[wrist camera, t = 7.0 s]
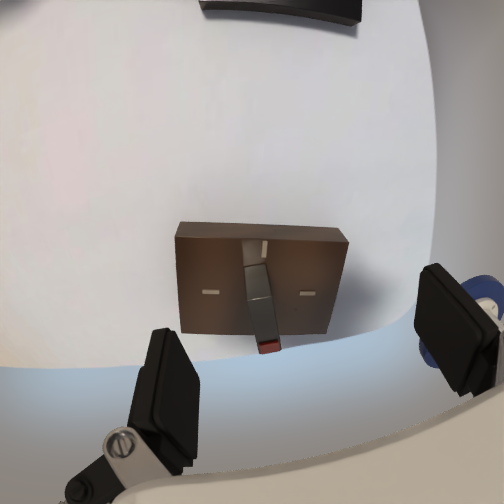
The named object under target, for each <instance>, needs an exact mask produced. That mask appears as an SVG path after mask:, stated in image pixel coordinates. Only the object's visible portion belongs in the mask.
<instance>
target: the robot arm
mask: <svg viewBox="0 0 504 504" xmlns="http://www.w3.org/2000/svg"><path fill="white" fill-rule="evenodd" d="M497 317H498V306H497V304H496V303H495V302H494V301H493V300H492V299H491V298H488V297H484V298H480V299H477V300H474V299H473V298H472V297H471V296H470V295H469V293H468V292H467V291H466V290H465V289H464V288H463V287H462V286H461V285H460V284H459V283H458V282H457V281H456V280H455V279H454V278H453V277H452V276H451V275H450V274H449V273H448V272H447V271H446V270H445V269H444V268H443V267H442V266H441V265H440V264H439V263H434V264H431V265H428V266H425V267H424V268H423V271H422V272H421V273H420V279H419V288H418V297H417V305H416V312H415V319H414V328H415V331H416V333H417V334H418V336H419V337H420V339H421V340H422V342H423V343H424V345H425V347H426V348H427V350H428V351H429V353H430V354H431V356H432V358H433V359H434V361H435V362H436V364H437V366H438V367H439V369H440V370H441V372H442V374H443V375H444V377H445V379H446V380H447V382H448V384H449V385H450V387H451V389H452V390H453V391H454V392H456V391H457V393H458V395H459V396H460V397H461V396H464V395H465V394H467V393H469V392H471V393H472V394H473V398H472V399H470V400H469V401H467V402H464V403H462V404H461V405H458V406H456V407H454V408H452V409H450V410H448V411H446V412H443V413H442V414H439V415H437V416H435V417H433V418H430V419H428V420H425V421H423V422H421V423H418V424H416V425H414V426H411V427H409V428H406V429H404V430H401V431H398V432H395V433H392V434H390V435H387V436H384V437H381V438H378V439H375V440H372V441H369V442H366V443H363V444H360V445H356V446H353V447H350V448H346V449H343V450H339V451H335V452H331V453H328V454H323V455H319V456H315V457H311V458H307V459H302V460H297V461H292V462H287V463H282V464H276V465H270V466H264V467H257V468H250V469H243V470H235V471H226V472H216V473H204V474H193V475H182V473H183V467H192V466H193V459H196V458H197V450H198V449H197V448H198V420H199V397H200V396H199V395H200V380H199V377H198V374H197V372H196V371H195V369H194V367H193V365H192V363H191V361H190V359H189V357H188V355H187V354H186V352H185V350H184V348H183V346H182V344H181V342H180V340H179V338H178V336H177V334H176V332H175V331H171V330H170V329H169V328H162V329H157V330H153V332H152V335H151V339H150V343H149V347H148V351H147V356H146V360H145V364H144V366H142V367H141V368H140V370H139V373H138V378H137V382H136V386H135V391H134V395H133V400H132V405H131V409H130V414H129V419H128V424H127V427H119V428H116V429H114V430H112V431H111V432H110V433H109V434H108V435H107V436H106V438H105V439H104V442H103V452H104V454H103V455H102V456H101V457H100V458H98V459H97V460H96V461H94V462H93V463H92V464H90V465H89V466H88V467H87V468H85V469H84V470H83V471H81V472H80V473H79V474H77V475H76V476H75V477H73V478H72V479H71V480H70V481H69V482H68V484H67V486H66V489H65V498H66V500H65V502H61V501H60V503H59V504H504V324H502V323H501V322H500V321H499V320H498V318H497Z"/></svg>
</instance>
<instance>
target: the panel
mask: <svg viewBox="0 0 504 504" xmlns="http://www.w3.org/2000/svg"><path fill="white" fill-rule="evenodd" d="M348 245H349V242H348V240H347V239H346V238H345V236H344V235H343V234H342V232H341V231H340V230H339V229H338V228H329V227H310V226H289V225H266V224H240V223H209V222H180V223H179V226H178V229H177V232H176V234H175V254H176V272H177V288H178V301H179V313H180V325H181V333H187V334H214V335H255V334H254V330H253V326H252V322H251V318H250V314H249V309H248V305H247V301H246V290H245V279H244V268H245V267H250V266H255V265H260V264H266V268H267V273H268V278H269V283H270V287H271V292H272V297H273V303H274V308H275V314H276V320H277V325H278V331H279V335H305V334H326V332H327V329H328V325H329V322H330V318H331V314H332V311H333V307H334V303H335V299H336V295H337V292H338V288H339V284H340V279H341V275H342V271H343V267H344V263H345V258H346V254H347V249H348Z"/></svg>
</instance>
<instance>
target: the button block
mask: <svg viewBox="0 0 504 504" xmlns="http://www.w3.org/2000/svg"><path fill="white" fill-rule="evenodd" d="M199 4H200V7H201V9H216V10H243V11H257V12H268V13H277V14H286V15H293V16H300V17H306V18H312V19H317V20H323V21H328V22H333V23H337V24H342V25H346V26H350V27H352V26H354V25H356V24H358V23H360V22H361V17H362V0H199Z"/></svg>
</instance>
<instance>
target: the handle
mask: <svg viewBox="0 0 504 504" xmlns="http://www.w3.org/2000/svg"><path fill="white" fill-rule="evenodd" d="M244 279H245V290H246V301H247V305H248V309H249V314H250V318H251V322H252V326H253V330H254V334H255V338H256V342H257V346H258V350H259V354H267V353H272V352H278V351H280V350H282V348H281V342H280V337H279V331H278V325H277V320H276V314H275V308H274V303H273V297H272V292H271V287H270V283H269V278H268V273H267V268H266V264H260V265H255V266H250V267H245V268H244Z"/></svg>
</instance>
